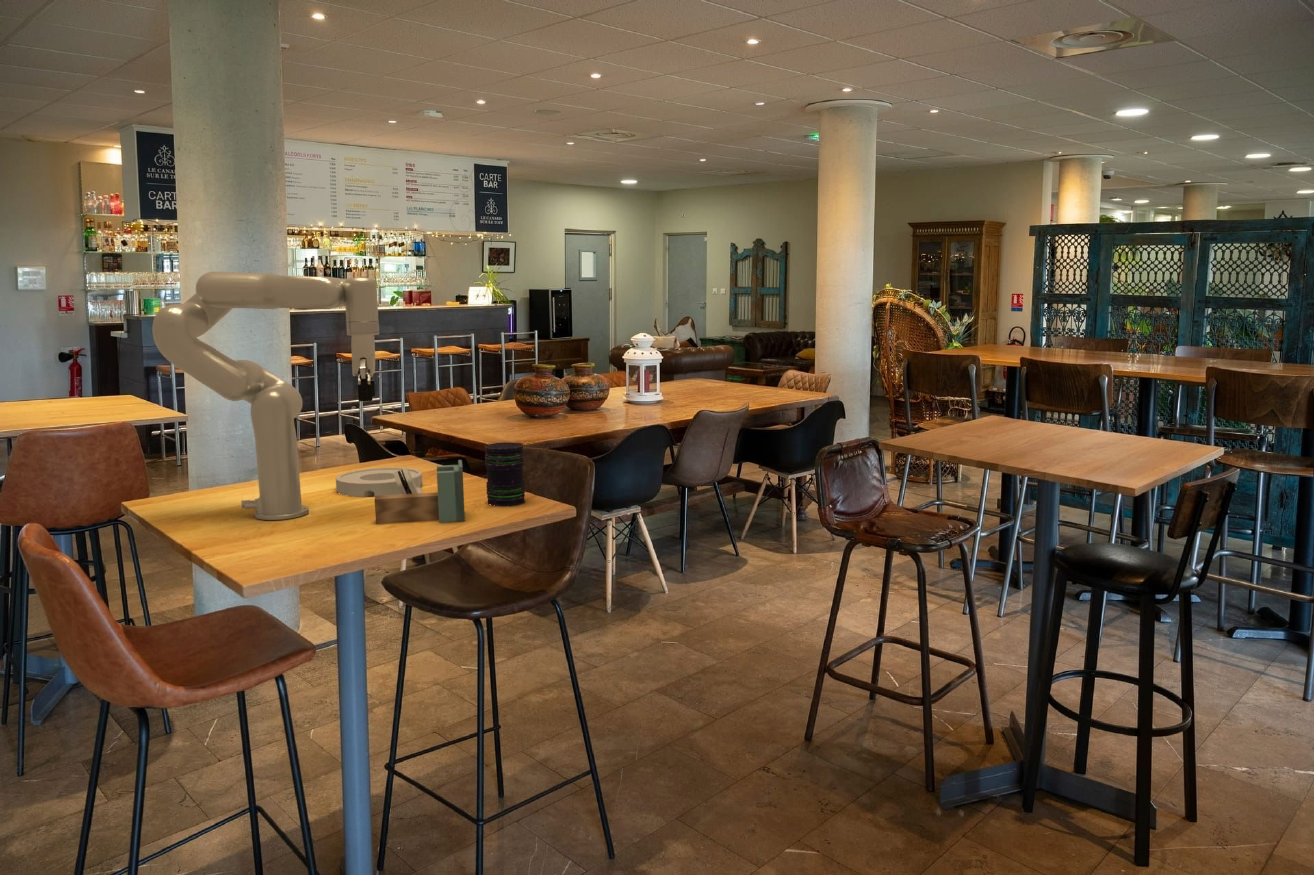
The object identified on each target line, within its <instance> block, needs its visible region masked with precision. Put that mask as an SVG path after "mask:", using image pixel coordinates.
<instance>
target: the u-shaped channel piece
mask: <svg viewBox="0 0 1314 875" xmlns="http://www.w3.org/2000/svg"><path fill="white" fill-rule="evenodd" d="M457 463H458V464H449V465H436V486H437V492H438V509H439V520H438V523H439V524H441V523H442V524H443V523H453V522H455V523H456V522H465V521H466V520H465V519H466V517H465V516H466V514H465V512H466V511H465V497H464V496H465V495H464V494H465V493H464V492H465V491H464V473H463V472H464V470H463V460H462V459H458V460H457Z"/></svg>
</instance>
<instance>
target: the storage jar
mask: <svg viewBox="0 0 1314 875" xmlns="http://www.w3.org/2000/svg"><path fill="white" fill-rule="evenodd" d="M484 450H485V452H484V453H485V457H484V459H485V460H484V461H485V464H484V465H485V468H486V477H487V478H486V479H487V480H486V485H485V487H486V489H485V490H486V498H487V502H488V504H491V505H495V506H494V507H496V506H509V507H516V506H520V505H523V504H525V503H526V500H525V496H526V487H525V486H526V483H525V480H524V466H525V461H524V460H525V455H524V444H523V443H519V442H496V443H488V444H486V445H484ZM488 504H487V505H488Z"/></svg>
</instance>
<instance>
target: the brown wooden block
mask: <svg viewBox="0 0 1314 875" xmlns="http://www.w3.org/2000/svg"><path fill="white" fill-rule="evenodd" d="M374 510H375V511H374V513H375V514H374V516H375V524H376V525H382V524H399V523H401V524H402V523H414V522H417V521H418V522H430V521H439V509H438V491H437V492H436V491H435V492H423V493H417V494H399V495H381V496H375V497H374Z"/></svg>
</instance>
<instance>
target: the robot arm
mask: <svg viewBox="0 0 1314 875" xmlns="http://www.w3.org/2000/svg"><path fill="white" fill-rule="evenodd" d="M342 307H343V308H344V307H345V319H346V320H345V321H346V322H345V323H346V335H347V336H351V347H350V348H351V370H352V373H351V375H352V376H353V377H356V376H357V377H358V378H357V380H358V381H357V395H358V396H357V397H358V401H359V402H372V401H373V398H374V397H375V396H376V388H375V380H374V374H375V373H376V344H375V343H376V341H375V336H377V335H380V324H379V308H378V288H377V282H376V280H375V279H374V278H372V277H348V278H339V277H334V276H299V275H296V276H294V275H280V274H274V273H269V272H241V271H239V272H235V271H209V272H206V273H203V274H202V275H201V276H200V277H199V278H198V280H197V281H196V285H195V293H194V294H193V295H192V296H191V297H190V298H189V299H187V300H186V301H185V302H183V303H174V304H170V305H169V304H168V305H166V306H163V307H162V308H160V309H159V310H158V311H157V313H156V314H155V316H154V318H153V320H152V321H153V322H152V329H151V330H152V338H153V341H154V344H155V346H156V348H157V350H158V351H159V353H160V354H161V355H162V356H163V357H164V358H165V359H166V360H167V361H168V362H169V363H171V364H172V365H174V366H175V367H176V368H178V369H180V370H181V371H182V372H184V373H185V374H187V375H189V376H191V377H192V378H194V379H195V380H196V381H198V382H200V383H201V384H202V385H204V386H206V387H207V388H209V389H210V390H212V391H213V392H215V393H217V394H218V395H220V396H221V397H222V398H224V399H226V400H228V401H232V402H238V401H246V402H247V403H249V404H250V420H251V423H252V430H253V433H254V434H253V435H254V436H253V437H254V444H255V454H256V463H257V464H256V466H257V478H258V481H257V482H258V492H259V497H258V498H255V499H254V500H249V499H247V500H241V509H245V510H252V509H254V510H255V511H254V513H253V516H254V518H255V519H258V520H264V521H280V520H289V519H290V520H291V519H295V518H299V517H303V516H306V515H307V514H308V513H309V512H310V511H309V510H310V509H309V506H307V505H303V504H302V491H301V476H300V467H299V466H300V464H299V451H298V438H297V432H296V427H295V420H294V419H296V417H297V416H299V414H300V413H301V411H302V409H303V403H304V402H303V398H302V396H301V392H299V391H298V390H297V389H296V388H295V387H294V386H293V385H291V384H290V383H289V382H288V381H285V380H284V379H282V378H280V377H279V376H278V375H276V374H274V373H273V372H271V371H270V370H268V369H266V368H264V367H263V366H262V365H260V364H258V363H256V362H254V361H252V360H247V359H239V360H238V359H237V360H235V359H232V358H230V357H229V356H228V355H225V354H224V353H222V352H220V351H219V350H217V349H216V348H214V347H213V346H211V345H209V344H208V343H206V342H204V341H202V340H200V339H199V337H201V336H202V335H204V334H206V333H207V332H208V331H209V330H210V329H211V328H213V327H214V326H215V325H216V324H217V323H219V322H220V320H222V319H223V318H224V317H225V316H226V315H228V314H229V313H230V312H231V311H232V309H255V310H256V309H258V310H260V309H261V310H275V309H304V310H306V309H308V310H309V309H313V310H329V309H337V308H342Z"/></svg>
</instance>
